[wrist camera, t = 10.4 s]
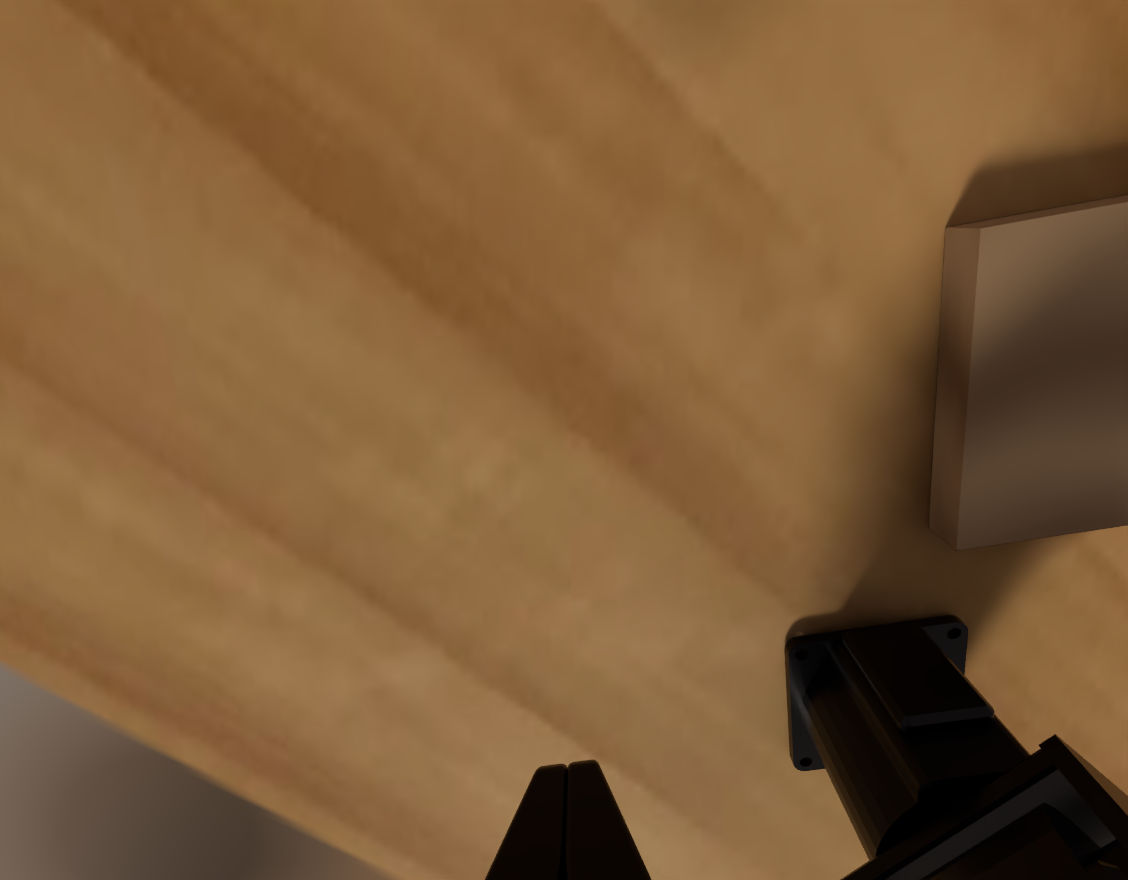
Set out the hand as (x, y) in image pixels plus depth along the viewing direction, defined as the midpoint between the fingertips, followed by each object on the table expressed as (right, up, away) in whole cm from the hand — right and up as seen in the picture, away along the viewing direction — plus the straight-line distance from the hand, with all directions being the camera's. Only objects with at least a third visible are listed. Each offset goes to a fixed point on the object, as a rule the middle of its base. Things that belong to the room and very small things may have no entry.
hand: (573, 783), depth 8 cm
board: (+19, +7, +10) cm, 22 cm away
